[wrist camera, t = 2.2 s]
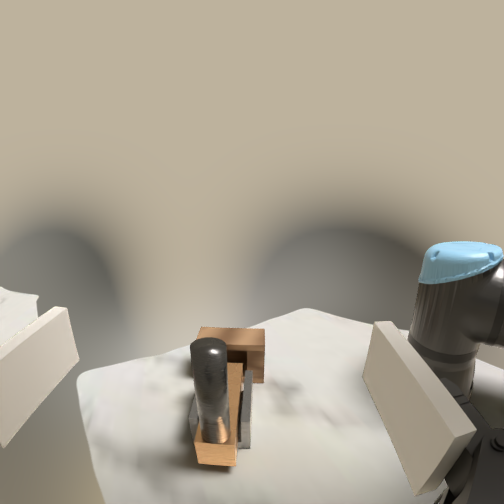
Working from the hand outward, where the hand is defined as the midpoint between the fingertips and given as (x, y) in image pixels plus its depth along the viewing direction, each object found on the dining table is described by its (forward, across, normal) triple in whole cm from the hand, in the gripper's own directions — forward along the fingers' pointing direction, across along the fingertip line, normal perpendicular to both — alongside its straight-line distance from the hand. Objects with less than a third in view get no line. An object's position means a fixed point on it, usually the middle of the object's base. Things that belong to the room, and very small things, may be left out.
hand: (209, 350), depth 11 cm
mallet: (+17, -2, -21) cm, 28 cm away
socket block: (+30, -2, -23) cm, 37 cm away
